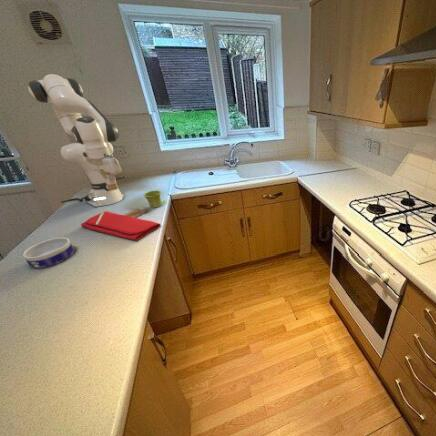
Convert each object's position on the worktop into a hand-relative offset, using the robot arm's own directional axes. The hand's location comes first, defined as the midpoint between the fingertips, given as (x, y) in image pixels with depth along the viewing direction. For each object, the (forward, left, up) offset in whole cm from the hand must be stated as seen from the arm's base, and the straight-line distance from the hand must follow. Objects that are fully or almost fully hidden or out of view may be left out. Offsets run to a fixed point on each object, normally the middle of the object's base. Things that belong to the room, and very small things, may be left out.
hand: (110, 180), depth 124 cm
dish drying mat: (+4, -6, -25) cm, 26 cm away
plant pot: (0, +20, -25) cm, 32 cm away
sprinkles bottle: (0, 0, -5) cm, 5 cm away
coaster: (-3, +7, -24) cm, 26 cm away
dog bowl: (+1, -36, -25) cm, 43 cm away
